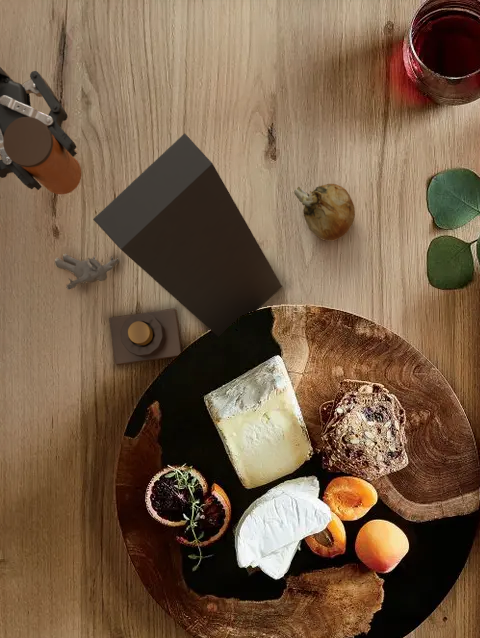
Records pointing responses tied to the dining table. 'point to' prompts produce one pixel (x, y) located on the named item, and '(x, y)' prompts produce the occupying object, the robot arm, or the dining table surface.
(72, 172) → the orange lidded canister
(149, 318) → the control block
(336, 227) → the onion
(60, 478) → the dining table surface
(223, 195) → the dark brown rectangular box
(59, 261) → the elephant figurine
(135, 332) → the button
